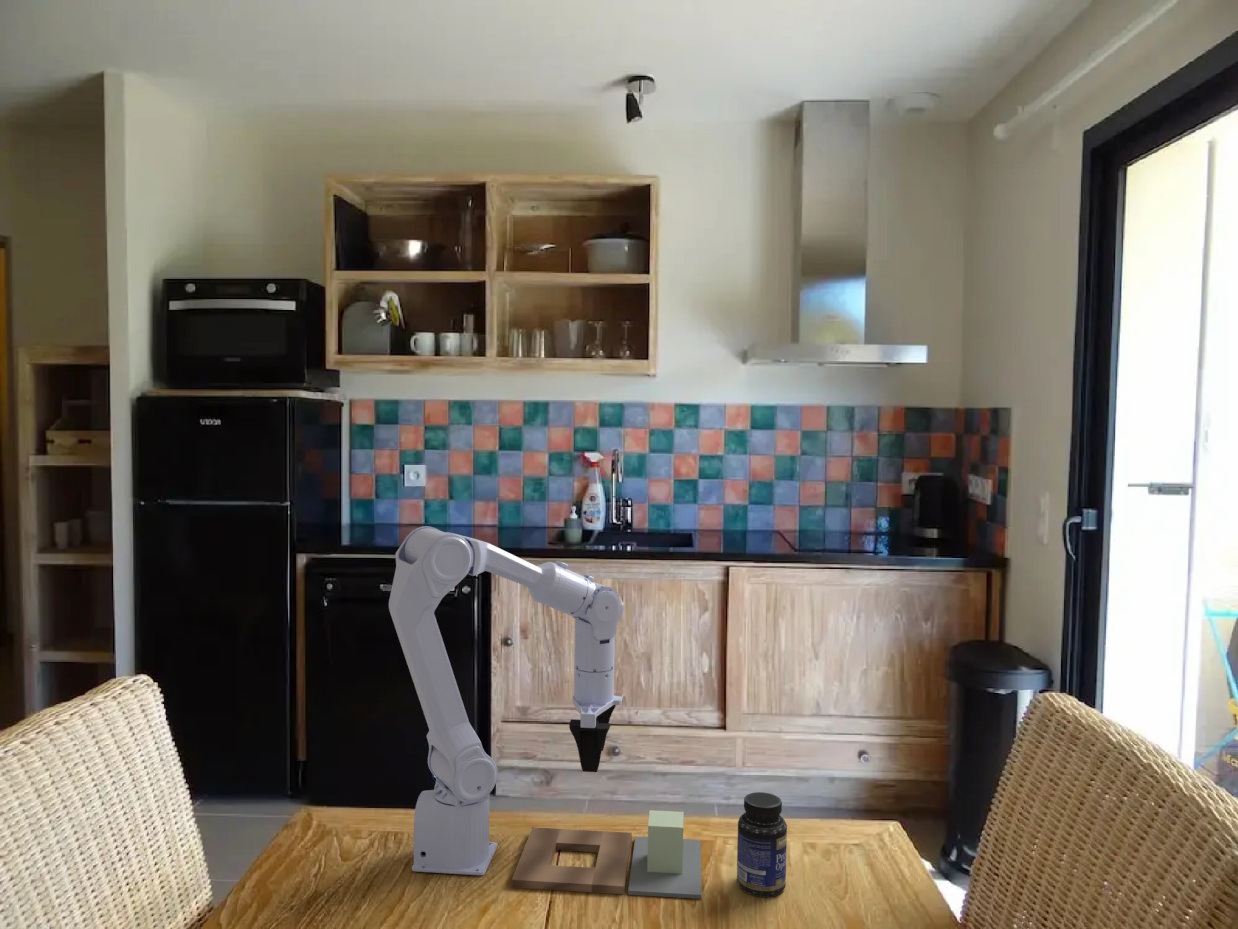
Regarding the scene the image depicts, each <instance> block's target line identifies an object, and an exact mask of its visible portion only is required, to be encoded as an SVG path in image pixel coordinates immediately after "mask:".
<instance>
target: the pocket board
mask: <svg viewBox="0 0 1238 929" xmlns="http://www.w3.org/2000/svg"><path fill="white" fill-rule="evenodd" d="M632 841H633V833H632V832H626V831H625V832H623V831H605V830H589V829H587V830H586V829H567V828H554V827H553V828H551V827H550V828H549V827H531V830H530V832H529V835H528V838H527V840H526V843H525V845H524V848H523V850H522V853H521V854H520V858H519V860H518V863H517V866H516V868H515V870H514V873H513V875H512V878H511V888H513V889H514V888H515V889H529V890H546V891H549V890H551V891H564V892H566V891H567V892H580V893H582V892H583V893H585V892H586V893H594V894H595V893H599V894H614V895H615V894H616V895H624V894H625V892H626V891H625V889H626V882H627V876H628V871H629V870H628V869H629V862H630V856H631V855H630V854H631V848H632V847H631V846H632ZM556 851H571V852H585V853H586V852H587V853H598V854H597V859H596V863H595V866H594V867H589V866H587V867H586V866H585V867H584V866H570V865H569V866H567V865H556V864H555V865H553V861H554V859H555V858H554V857H555V855H556V853H557V852H556Z"/></svg>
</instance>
